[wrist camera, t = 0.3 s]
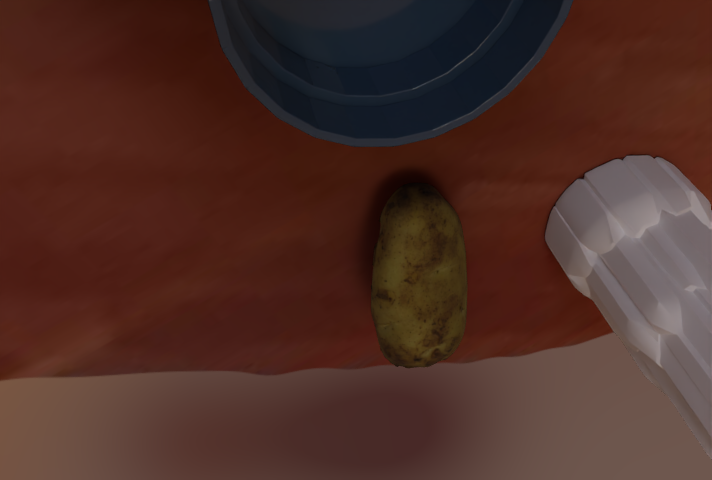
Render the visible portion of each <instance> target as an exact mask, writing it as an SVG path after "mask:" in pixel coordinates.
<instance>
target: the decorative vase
mask: <svg viewBox="0 0 712 480" xmlns="http://www.w3.org/2000/svg"><path fill="white" fill-rule="evenodd" d="M545 241H546V243H547V245H548V247H549V248H550V250H551V251H552V253H553V255H554V256H555V258H556V259H557V261H558V262H559V264H560V265H561V267H562V269H563V270H564V272H565V273H566V275H567V276H568V278H569V279H570V281H571V283H572V284H573V285H574V287H575V288H576V289H577V290H578V291H580V292H581V293H582V294H583V295H584V296H587V297H588V298H590V299H591V300H593V301H594V303H595V304H596V306H597V307H598V309H599V310H600V312H601V313H602V315H603V316H604V318H605V319H606V321H607V322H608V324H609V325H610V327H611V328H612V330H613V332H614V333H615V334H617V335H618V336H619V338H620V339H621V341H622V343H623V344H624V346H625V347H626V349H627V350H628V352H629V353H630V355H631V356H632V358H633V359H634V361H635V362H636V364H637V365H638V367H639V368H640V370H641V371H642V373H643V374H644V376H645V377H646V378H647V379H648V380H649V381H650V382H652V383H653V384H654V385H655V386H656V387H657V388H659V389H660V390H661V391H662V392H663V393H664V394H666V395H667V396H668V397H669V398H670V400H671V402H672V403H673V405H674V406H675V408H676V409H677V410H678V412H679V413H680V415H681V417H682V418H683V419H684V421H685V422H686V424H687V425H688V427H689V428H690V430H691V431H692V433H693V434H694V436H695V437H696V439H697V440H698V441H699V443H700V445H701V446H702V447H703V449H704V450H705V452H706V453H707V455H708V456H709V457H710V458H711V459H712V210H711V204H710V203H709V201H708V199H707V198H706V197H705V196H704V195H703V194H702V193H701V192H700V191H699V190H698V189H697V188H696V187H695V186H694V185H693V184H692V183H691V182H690V181H689V180H688V179H687V178H686V177H685V176H684V175H683V174H682V173H681V172H680V171H679V170H678V169H677V168H676V167H675V166H674V165H673V164H671V163H670V162H668V161H666V160H664V159H663V158H660V157H656V158H655V159H654V158H653V157H651V156H649V155H639V156H626V157H625V158H624V159H623V161H622V160H621V159H615V160H612V161H610V162H608V163H605V164H603V165H601V166H599V167H597V168H595V169H593V170H591V171H589V172H587V173H585V175H584V180H583V179H577V180H576V181H575V182H574V183H573V184H571V185H570V186H569V187H568V188H567V189H566V190H565V191H564V193H563V194H562V195H561V197H560V198H559V199H558V201H557V202H556V206H554V207H553V209H552V211H551V213H550V216H549V219H548V223H547V228H546V232H545Z"/></svg>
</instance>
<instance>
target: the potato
mask: <svg viewBox="0 0 712 480" xmlns="http://www.w3.org/2000/svg"><path fill="white" fill-rule="evenodd" d="M379 222H380V223H381V228H380V234H379V238H378V242H377V243H376V244H375V247H374V256H373V264H372V265H373V277H372V286H371V289H372V293H371V312H372V318H373V321H374V324H375V328H376V332H377V337H378V341H379V345H380V348H381V351H382V353H383V354H384V356H385V358H387V359H388V360H389V361H390V362H391V363H392V364H394V365H395V366H397V367H398V366H403V367H405V368H414V367H429V366H431V365H433V364H435V363H437V362H438V361H442V360H445V359H447V358H448V357H449V356H450V355H452V354H453V353H454V351H455V350H456V349H457V347H458V346H459V344H460V342H461V340H462V337H463V334H464V330H465V324H466V313H467V308H466V306H467V271H466V250H465V244H464V236H463V231H462V226H461V223H460V220H459V217H458V215H457V213H456V211H455V210H454V208H453V207H452V206H451V205H450V204H449V203H448V202H447V201H446V200H445V199H444V198H443V197H442V195H441V194H440V193H439V192H438V191H437V190H436V189H435V188H434V187H433V186H431V185H429V184H426V183H409V184H405V185H403V186H401V187H400V188H398V189H397V190H396V191H395V192H394V193H393V194H392V196H391V197H390V198H389V200H388V201H387V203H386V205H385V206H384V208H383V211H382V212H381V216H380V220H379Z"/></svg>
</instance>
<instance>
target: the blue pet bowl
mask: <svg viewBox="0 0 712 480" xmlns="http://www.w3.org/2000/svg"><path fill="white" fill-rule="evenodd" d="M572 2H573V0H208V3H209V7H210V10H211V14H212V17H213V21H214V25H215V28H216V32H217V35H218V39H219V42H220V46H221V48H222V50H223V52H224V54H225V55H226V57H227V59H228V60H229V62H230V64H231V65H232V67H233V68H234V70H235V72H236V73H237V75H238V77H239V78H240V80H241V82H242V83H243V85H244V86H245V88H246V89H247V90H248V91H249V92H250V93H251V94H252V95H253V96H254V97H256V98H257V99H258V100H259V101H260V102H261V103H262V104H263V105H264V106H265V107H266V108H267V109H268V110H269V111H270V112H272V113H273V114H274V115H275V116H276V117H277V118H278V119H280V120H282V121H284V122H286V123H288V124H290V125H292V126H294V127H296V128H297V129H299V130H301V131H303V132H305V133H307V134H309V135H311V136H313V137H315V138H319V139H323V140H327V141H331V142H336V143H340V144H344V145H348V146H354V147H394V146H399V145H404V144H408V143H412V142H417V141H421V140H425V139H430V138H434V137H437V136H439V135H441V134H443V133H446V132H448V131H450V130H452V129H454V128H456V127H458V126H461V125H463V124H465V123H467V122H469V121H471V120H473V119H475V118H477V117H478V116H479V115H481V114H482V113H483V112H485V111H486V110H487V109H489V108H490V107H492V106H493V105H494V104H496V103H497V102H498V101H500V100H501V99H503V98H504V97H505V96H507V95H508V94H509V92H511V91H512V90H513V89H514V88H515V87H516V86H517V85H518V84H519V83H520V82H521V81H522V80H523V78H524V77H525V76H526V75H527V74H528V73H529V72H530V71H531V70H532V69H533V68H534V67H535V66H536V64H537V63H538V62H539V61H540V60H541V59H542V57H543V56H544V54H545V53H546V51H547V49H548V48H549V46H550V44H551V43H552V41H553V40H554V38H555V36H556V35H557V33H558V31H559V30H560V28H561V27H562V25H563V23H564V22H565V20H566V18H567V16H568V13H569V11H570V8H571V5H572Z"/></svg>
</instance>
